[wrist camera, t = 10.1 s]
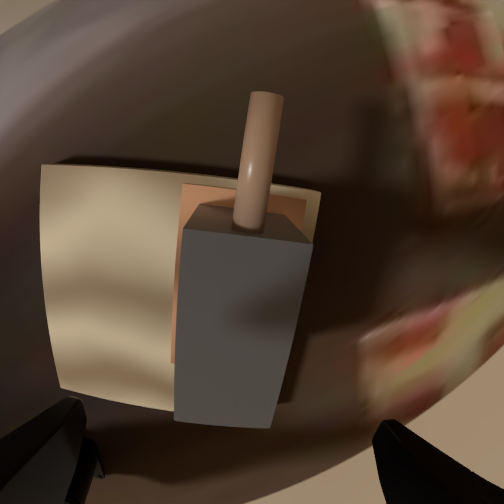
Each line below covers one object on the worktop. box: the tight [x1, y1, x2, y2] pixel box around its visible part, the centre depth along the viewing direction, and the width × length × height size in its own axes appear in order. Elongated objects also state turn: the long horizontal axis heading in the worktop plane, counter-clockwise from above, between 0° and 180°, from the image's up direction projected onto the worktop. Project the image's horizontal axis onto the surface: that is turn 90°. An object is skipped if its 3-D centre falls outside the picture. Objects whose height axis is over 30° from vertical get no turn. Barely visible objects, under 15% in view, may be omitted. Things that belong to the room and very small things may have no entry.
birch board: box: [40, 164, 321, 411], centre depth 19 cm, size 16×16×2 cm
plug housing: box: [174, 92, 313, 428], centre depth 14 cm, size 14×4×6 cm, turn 172°
